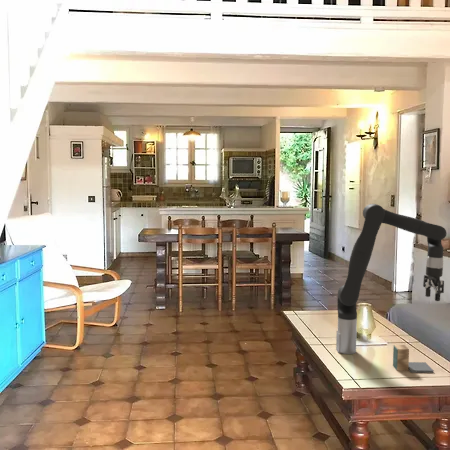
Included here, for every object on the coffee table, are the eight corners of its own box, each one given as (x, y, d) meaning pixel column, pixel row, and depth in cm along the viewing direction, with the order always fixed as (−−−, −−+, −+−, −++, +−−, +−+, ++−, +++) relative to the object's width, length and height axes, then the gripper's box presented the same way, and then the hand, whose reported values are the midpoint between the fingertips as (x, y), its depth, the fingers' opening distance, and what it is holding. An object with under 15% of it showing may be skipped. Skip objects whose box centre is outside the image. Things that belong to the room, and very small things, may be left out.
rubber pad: (410, 372, 229) (411, 370, 229) (403, 364, 239) (403, 362, 239) (433, 372, 229) (433, 370, 228) (425, 364, 238) (425, 362, 238)
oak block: (396, 370, 231) (397, 349, 230) (392, 365, 237) (393, 344, 236) (408, 370, 231) (409, 349, 230) (404, 365, 237) (404, 344, 236)
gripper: (419, 263, 255) (417, 295, 257) (435, 268, 241) (433, 302, 243) (433, 263, 256) (431, 295, 258) (450, 268, 242) (448, 302, 244)
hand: (432, 298), depth 250 cm, fingers open, 8 cm apart
